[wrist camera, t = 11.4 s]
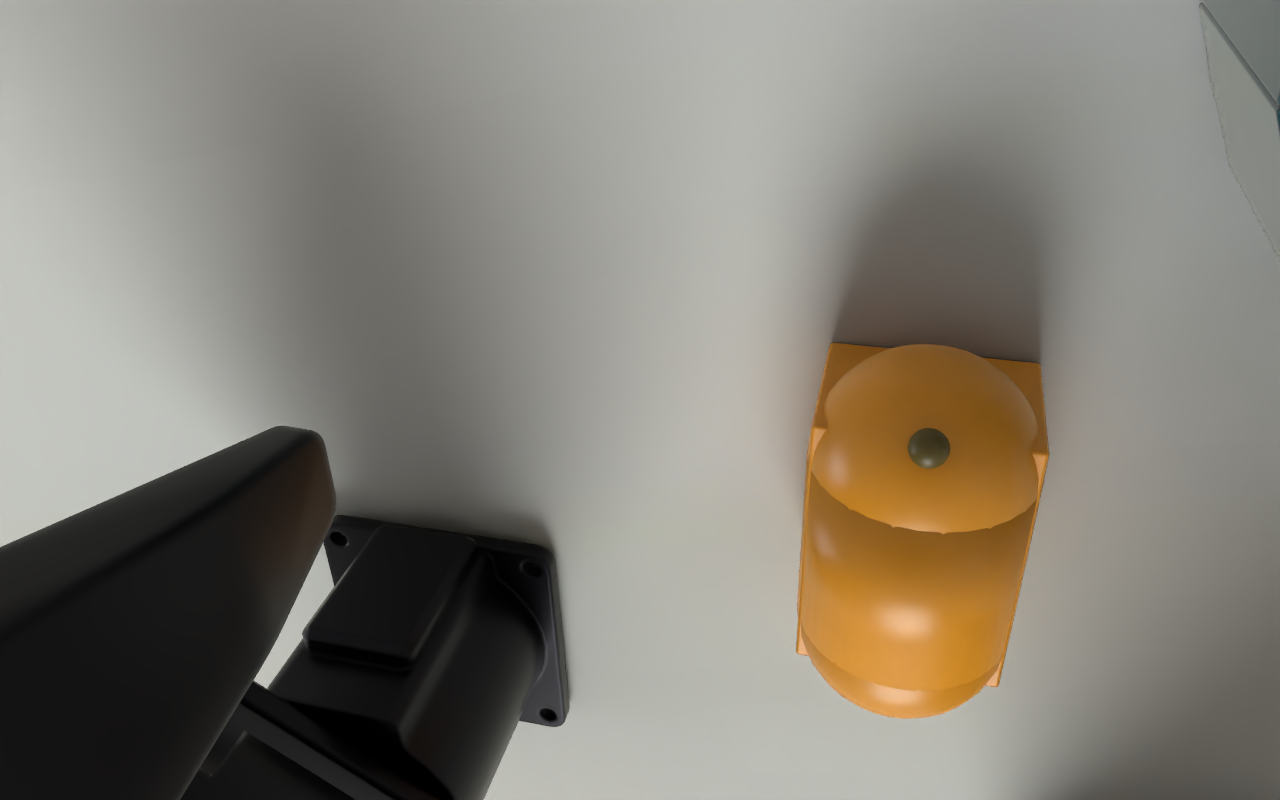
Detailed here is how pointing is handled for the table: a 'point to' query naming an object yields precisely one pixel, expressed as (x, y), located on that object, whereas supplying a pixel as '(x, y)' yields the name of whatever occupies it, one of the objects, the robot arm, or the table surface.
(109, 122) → the table surface
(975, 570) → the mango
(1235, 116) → the pot
